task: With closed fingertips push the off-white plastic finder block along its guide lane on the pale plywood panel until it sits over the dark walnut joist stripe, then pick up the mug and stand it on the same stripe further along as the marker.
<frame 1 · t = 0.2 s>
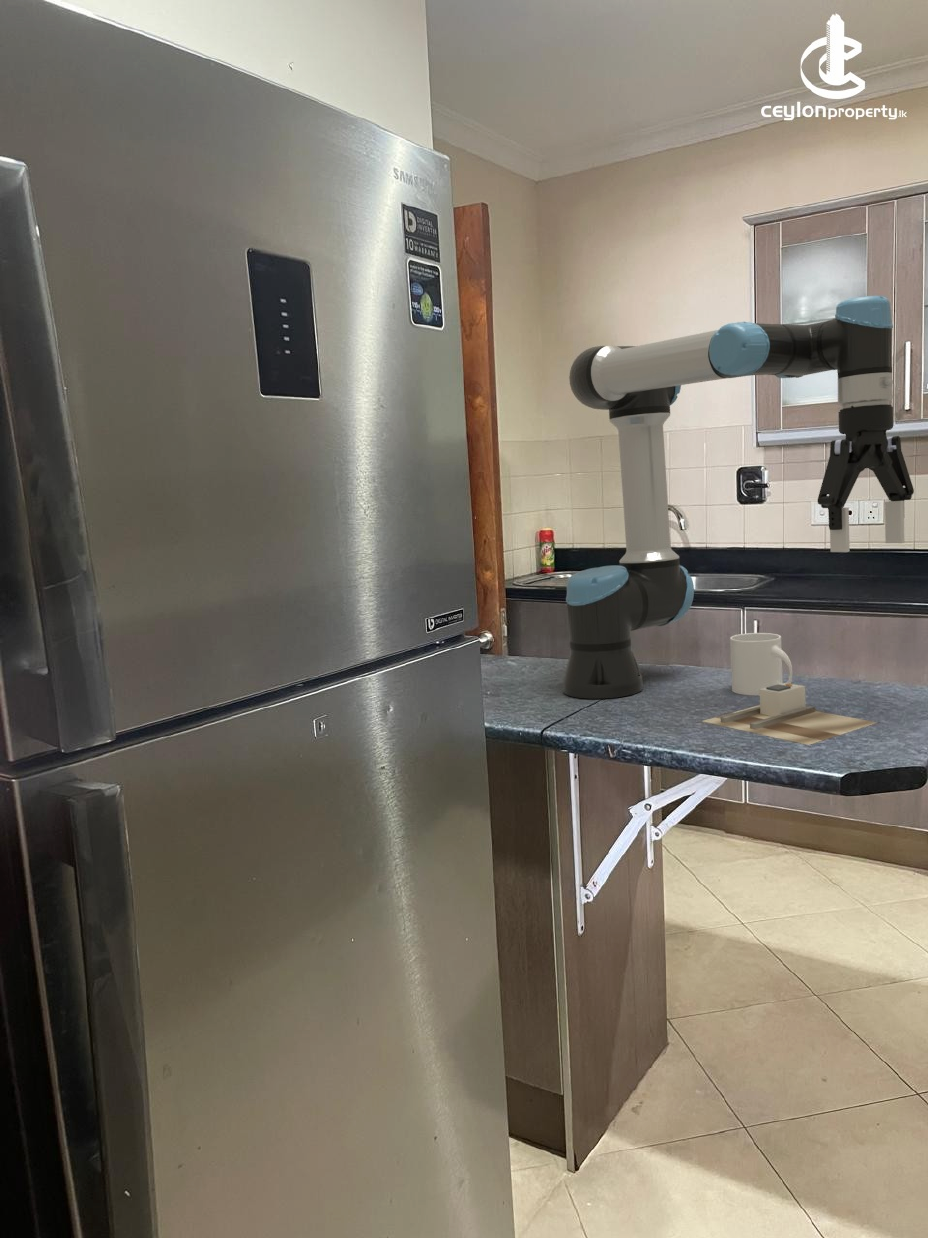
hand: (868, 547, 142), 27 cm above the countertop, fingers open, 13 cm apart
subfloor panel: (787, 729, 144), on the countertop
finder block: (782, 699, 149), point 3 cm above the countertop, slide at 0.0 cm
mug: (764, 698, 164), on the countertop
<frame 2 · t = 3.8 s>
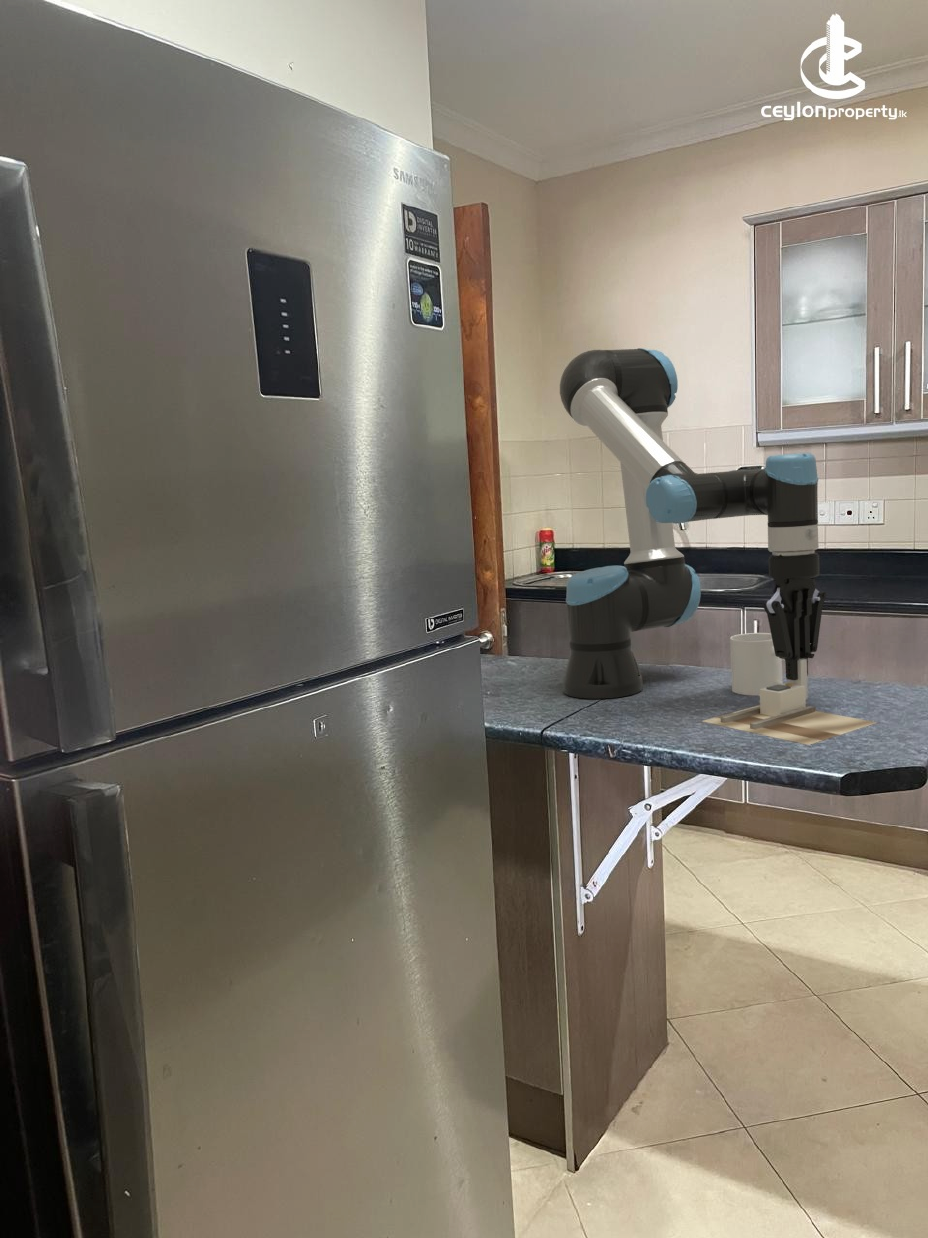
hand: (797, 698, 151), 3 cm above the countertop, fingers closed
finder block: (782, 699, 149), point 3 cm above the countertop, slide at 0.0 cm, touching gripper
everything else where it was.
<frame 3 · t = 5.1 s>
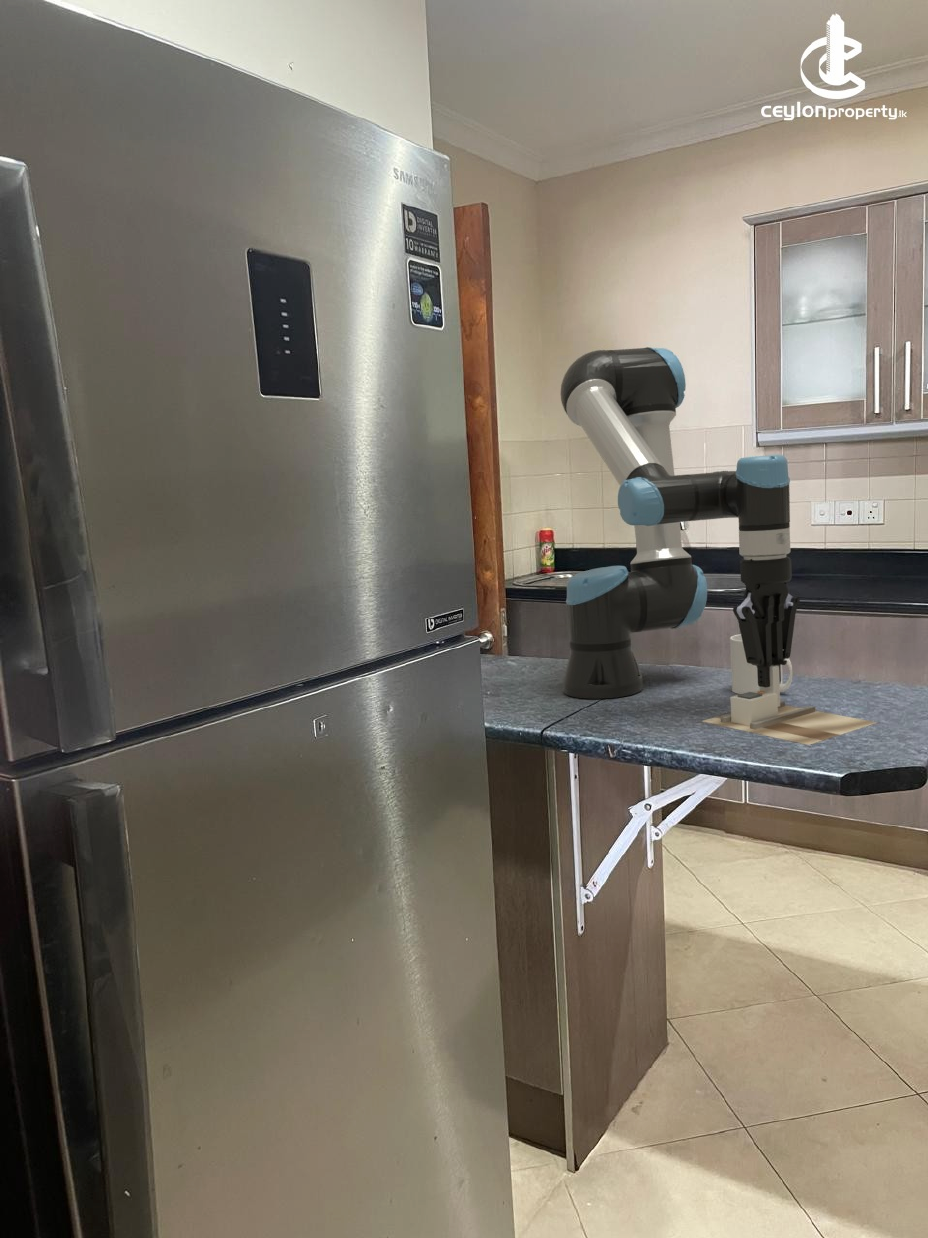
hand: (770, 705, 147), 3 cm above the countertop, fingers closed
finder block: (754, 707, 145), point 3 cm above the countertop, slide at 6.7 cm, touching gripper
everything else where it was.
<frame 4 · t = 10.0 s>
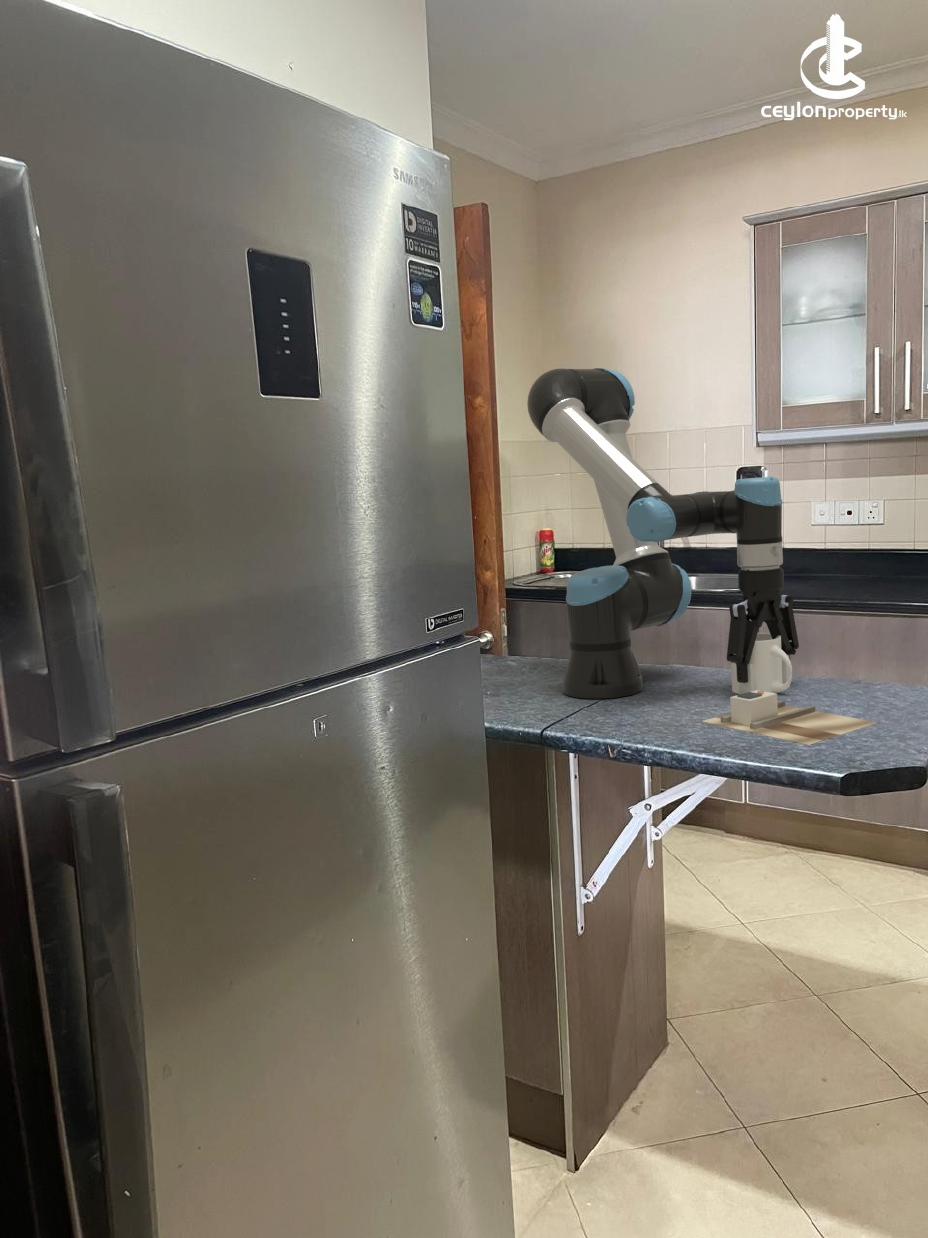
hand: (764, 695, 164), 0 cm above the countertop, fingers closed on mug, 9 cm apart
finder block: (754, 707, 145), point 3 cm above the countertop, slide at 6.7 cm
mug: (764, 698, 164), on the countertop, touching gripper
when the fingers open (3 cm above the countertop, at t = 15.7 s): mug drops 1 cm, resting on subfloor panel.
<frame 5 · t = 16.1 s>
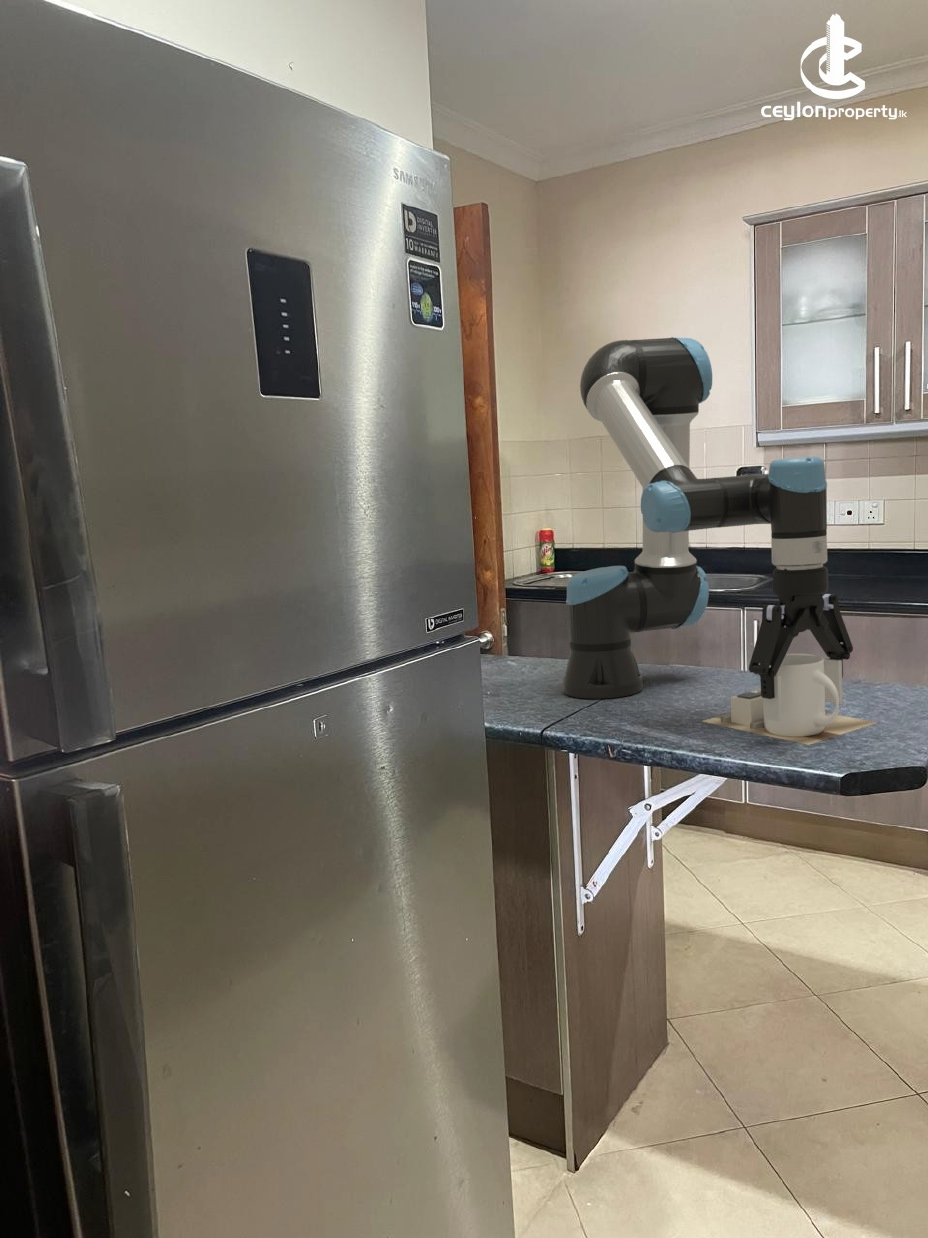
hand: (803, 711, 137), 4 cm above the countertop, fingers open, 13 cm apart
mug: (804, 733, 137), point 1 cm above the countertop, touching subfloor panel
everything else where it was.
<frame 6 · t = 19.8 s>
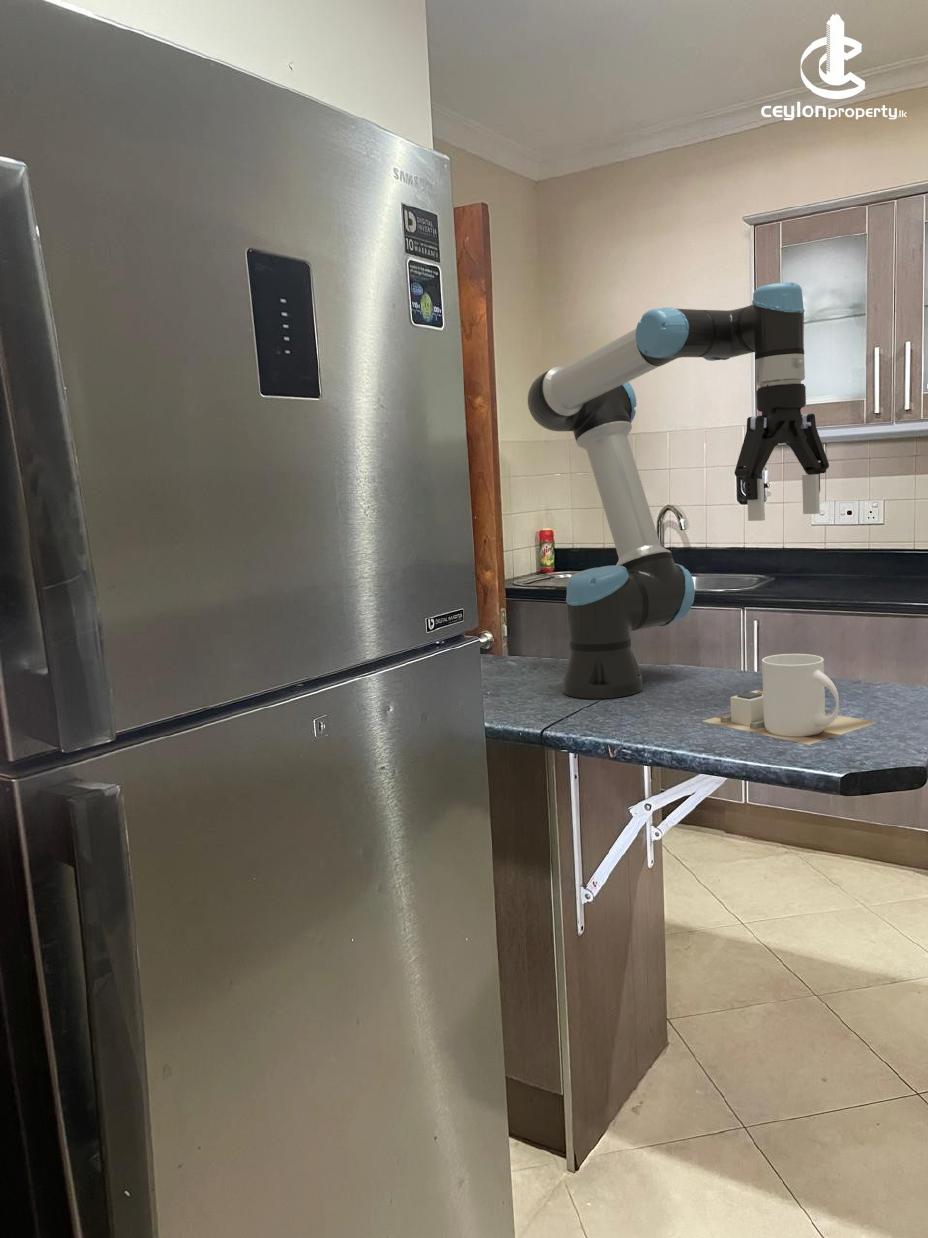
hand: (784, 517, 153), 32 cm above the countertop, fingers open, 13 cm apart
nothing on the countertop moved.
at the end: finder block slide at 6.7 cm; mug inside the target area (0.3 cm from its centre), point 1.0 cm above the countertop; mug tilted 0° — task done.
